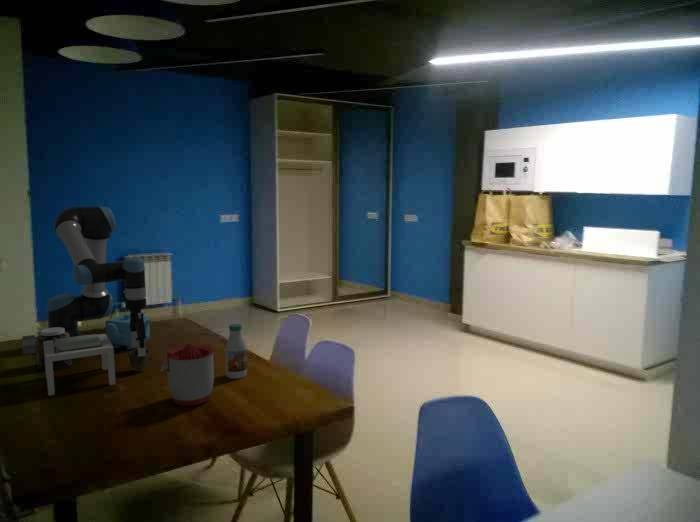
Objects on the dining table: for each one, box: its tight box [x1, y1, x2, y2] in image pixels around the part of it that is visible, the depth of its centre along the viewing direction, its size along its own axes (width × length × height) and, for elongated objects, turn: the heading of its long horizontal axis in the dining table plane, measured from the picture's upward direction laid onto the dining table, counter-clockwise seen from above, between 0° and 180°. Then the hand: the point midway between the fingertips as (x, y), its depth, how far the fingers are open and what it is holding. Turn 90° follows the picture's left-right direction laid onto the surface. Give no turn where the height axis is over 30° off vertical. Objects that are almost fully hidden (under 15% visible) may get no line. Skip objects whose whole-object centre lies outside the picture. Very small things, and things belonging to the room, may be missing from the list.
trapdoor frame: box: [43, 333, 117, 396], centre depth 200 cm, size 22×22×16 cm
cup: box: [127, 348, 149, 373], centre depth 211 cm, size 8×7×8 cm
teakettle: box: [105, 311, 154, 351], centre depth 244 cm, size 19×19×15 cm
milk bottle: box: [225, 323, 248, 380], centre depth 205 cm, size 8×8×20 cm
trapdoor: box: [21, 333, 101, 355], centre depth 196 cm, size 24×14×4 cm, turn 121°
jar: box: [36, 327, 73, 371], centre depth 216 cm, size 12×12×15 cm
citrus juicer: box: [160, 343, 215, 407], centre depth 181 cm, size 16×17×20 cm
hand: (138, 351), depth 210 cm, fingers open, 13 cm apart
